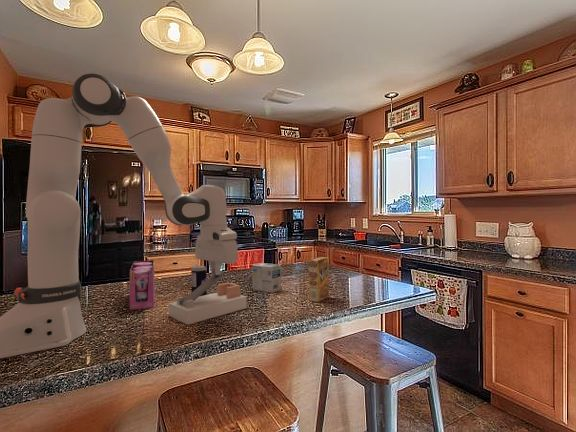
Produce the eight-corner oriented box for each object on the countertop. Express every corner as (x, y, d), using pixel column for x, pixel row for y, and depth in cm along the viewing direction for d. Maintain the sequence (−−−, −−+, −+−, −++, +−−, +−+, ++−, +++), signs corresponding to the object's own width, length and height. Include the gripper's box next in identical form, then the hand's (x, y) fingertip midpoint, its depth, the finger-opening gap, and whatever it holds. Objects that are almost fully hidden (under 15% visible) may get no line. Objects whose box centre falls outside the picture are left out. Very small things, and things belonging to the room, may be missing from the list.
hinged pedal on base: (187, 324, 96) (187, 299, 96) (168, 315, 105) (168, 292, 104) (246, 308, 112) (246, 286, 112) (226, 301, 120) (225, 281, 120)
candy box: (318, 302, 118) (318, 260, 118) (308, 300, 120) (308, 259, 120) (329, 297, 125) (329, 257, 125) (319, 295, 128) (319, 256, 127)
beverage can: (202, 300, 123) (202, 268, 122) (188, 299, 124) (188, 267, 123) (209, 296, 128) (208, 265, 128) (195, 295, 129) (195, 265, 129)
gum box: (154, 308, 113) (153, 269, 112) (128, 311, 110) (128, 271, 109) (155, 292, 135) (154, 259, 135) (133, 294, 132) (133, 261, 132)
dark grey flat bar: (187, 307, 100) (185, 304, 100) (180, 304, 103) (179, 302, 103) (225, 274, 111) (224, 271, 110) (219, 272, 113) (217, 270, 113)
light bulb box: (281, 289, 137) (281, 264, 137) (272, 293, 132) (272, 266, 132) (261, 286, 143) (261, 262, 143) (251, 290, 138) (251, 264, 137)
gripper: (189, 233, 114) (191, 272, 115) (223, 235, 100) (225, 280, 101) (205, 231, 119) (207, 269, 119) (240, 233, 105) (241, 276, 105)
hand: (215, 274), depth 110 cm, fingers closed, pressing on dark grey flat bar
